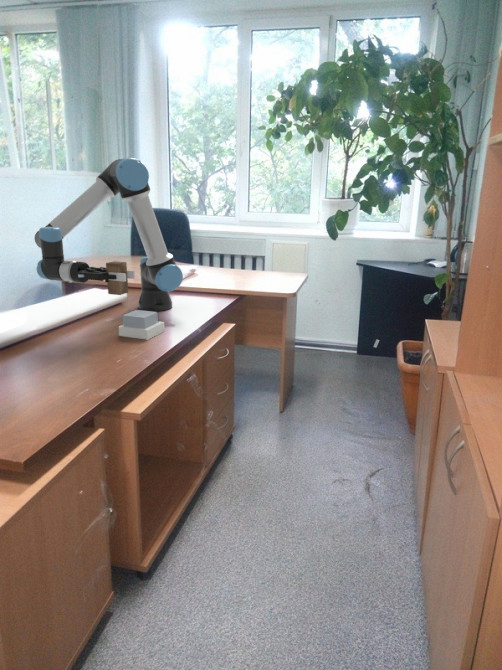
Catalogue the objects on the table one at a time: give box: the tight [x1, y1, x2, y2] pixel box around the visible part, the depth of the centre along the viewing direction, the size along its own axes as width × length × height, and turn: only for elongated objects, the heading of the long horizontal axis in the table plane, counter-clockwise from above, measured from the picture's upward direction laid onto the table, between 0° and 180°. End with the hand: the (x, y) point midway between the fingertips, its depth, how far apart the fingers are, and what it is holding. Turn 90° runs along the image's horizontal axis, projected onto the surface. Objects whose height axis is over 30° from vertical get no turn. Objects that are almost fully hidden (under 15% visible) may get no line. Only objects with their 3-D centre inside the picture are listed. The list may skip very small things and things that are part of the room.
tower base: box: [118, 321, 166, 341], centre depth 177 cm, size 12×12×4 cm
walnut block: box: [105, 260, 129, 296], centre depth 170 cm, size 5×5×11 cm
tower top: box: [122, 309, 159, 329], centre depth 176 cm, size 9×9×4 cm
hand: (129, 276), depth 168 cm, fingers closed on walnut block, 5 cm apart
